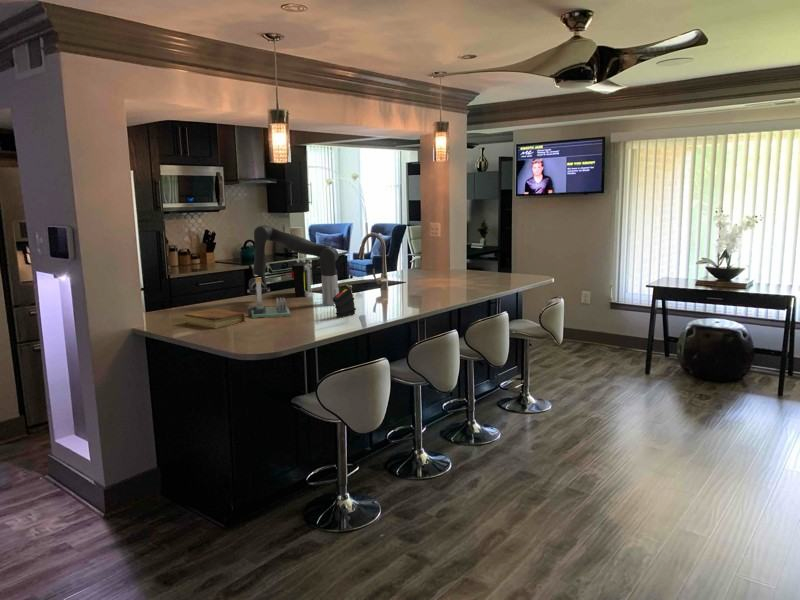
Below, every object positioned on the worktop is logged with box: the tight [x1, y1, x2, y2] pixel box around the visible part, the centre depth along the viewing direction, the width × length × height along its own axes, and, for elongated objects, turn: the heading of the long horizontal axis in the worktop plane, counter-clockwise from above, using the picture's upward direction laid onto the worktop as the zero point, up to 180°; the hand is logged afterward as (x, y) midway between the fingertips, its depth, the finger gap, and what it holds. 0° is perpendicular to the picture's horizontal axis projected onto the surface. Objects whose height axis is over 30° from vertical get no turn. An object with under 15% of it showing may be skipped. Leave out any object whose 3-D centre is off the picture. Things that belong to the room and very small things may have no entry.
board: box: [251, 305, 292, 319], centre depth 329 cm, size 22×20×2 cm
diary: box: [184, 307, 246, 330], centre depth 305 cm, size 23×19×6 cm
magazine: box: [333, 286, 357, 318], centre depth 320 cm, size 4×13×15 cm, turn 138°
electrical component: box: [290, 261, 313, 298], centre depth 389 cm, size 18×10×20 cm, turn 179°
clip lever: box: [251, 277, 265, 310], centre depth 332 cm, size 5×6×17 cm
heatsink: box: [247, 297, 287, 317], centre depth 329 cm, size 17×20×7 cm
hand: (259, 293), depth 333 cm, fingers closed
